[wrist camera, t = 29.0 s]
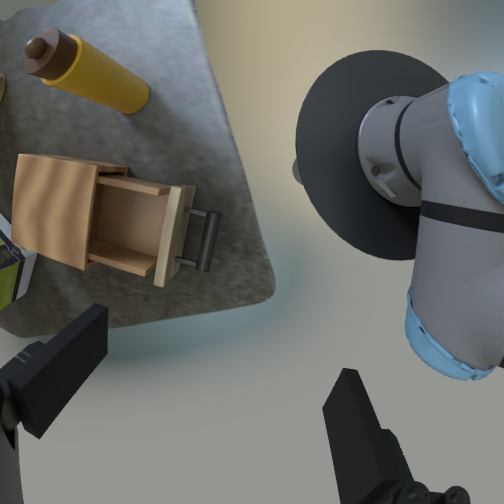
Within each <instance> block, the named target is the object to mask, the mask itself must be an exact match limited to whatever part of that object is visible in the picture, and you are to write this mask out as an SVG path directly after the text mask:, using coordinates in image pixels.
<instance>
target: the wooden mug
mask: <svg viewBox="0 0 504 504" xmlns="http://www.w3.org/2000/svg"><path fill="white" fill-rule="evenodd" d="M5 86H6V79H5V76H4V74H2V73H0V102H1V99H2V97H3V94H4V91H5Z"/></svg>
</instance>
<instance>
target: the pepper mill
mask: <svg viewBox="0 0 504 504" xmlns="http://www.w3.org/2000/svg"><path fill="white" fill-rule="evenodd" d="M23 69H24V71H25V72H26V73H28V74H31V75H34V76H37V77H40V78H41V80H42V81H43V83H45V84H47V85H50V86H53V87H56V88H59V89H61V90H64V91H67V92H70V93H73V94H75V95H78V96H81V97H84V98H86V99H89V100H92V101H94V102H97V103H99V104H102V105H105V106H107V107H110V108H112V109H115V110H117V111H120V112H122V113H125V114H132V113H135V112H137V111H139V110H140V109H142V108H143V107H144V105H145V104H146V102H147V100H148V97H149V88H148V86H147V84H146V83H145V82H144V81H142V80H141V79H140V78H138V77H137V76H135V75H134V74H133V73H131V72H130V71H128V70H127V69H126V68H124V67H123V66H121V65H120V64H119V63H117V62H116V61H114V60H113V59H111V58H110V57H108V56H107V55H105V54H104V53H103V52H101V51H100V50H98V49H97V48H95V47H94V46H92V45H91V44H89V43H87V42H86V41H84V40H83V39H81V38H80V37H78V36H77V35H66V34H65V33H63V32H61V31H60V30H58V29H56V28H54V27H51V28H47V29H45V30H43V31H41V32H40V33H39V34H38V35H36V36H35V38H33V39H31V40H30V41H29V42H28V43H27V44H26V46H25V54H24V57H23Z"/></svg>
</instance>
